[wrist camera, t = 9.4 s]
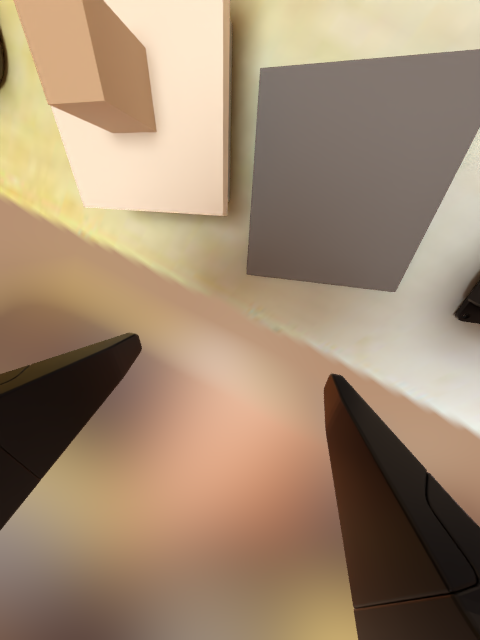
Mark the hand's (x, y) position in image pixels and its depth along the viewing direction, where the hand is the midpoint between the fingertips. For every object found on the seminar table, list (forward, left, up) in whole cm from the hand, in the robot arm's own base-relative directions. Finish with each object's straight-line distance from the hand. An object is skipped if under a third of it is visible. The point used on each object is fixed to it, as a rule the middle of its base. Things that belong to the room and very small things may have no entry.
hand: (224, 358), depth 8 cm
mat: (-5, -7, -12) cm, 15 cm away
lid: (+8, -11, -8) cm, 16 cm away
